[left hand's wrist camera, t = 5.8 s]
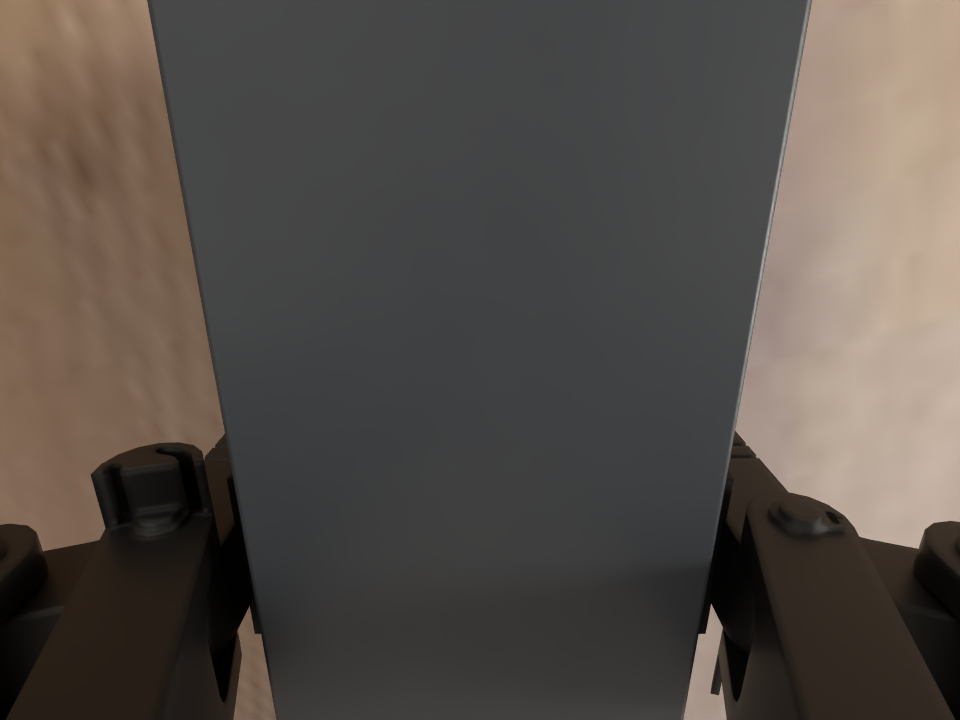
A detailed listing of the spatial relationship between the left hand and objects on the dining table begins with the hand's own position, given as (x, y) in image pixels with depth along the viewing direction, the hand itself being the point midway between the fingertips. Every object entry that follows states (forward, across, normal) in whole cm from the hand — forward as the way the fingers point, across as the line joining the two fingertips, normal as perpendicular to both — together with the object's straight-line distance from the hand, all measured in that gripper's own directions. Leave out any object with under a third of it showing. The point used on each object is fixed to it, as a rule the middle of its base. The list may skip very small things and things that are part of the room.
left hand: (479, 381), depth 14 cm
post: (0, 0, -26) cm, 26 cm away
